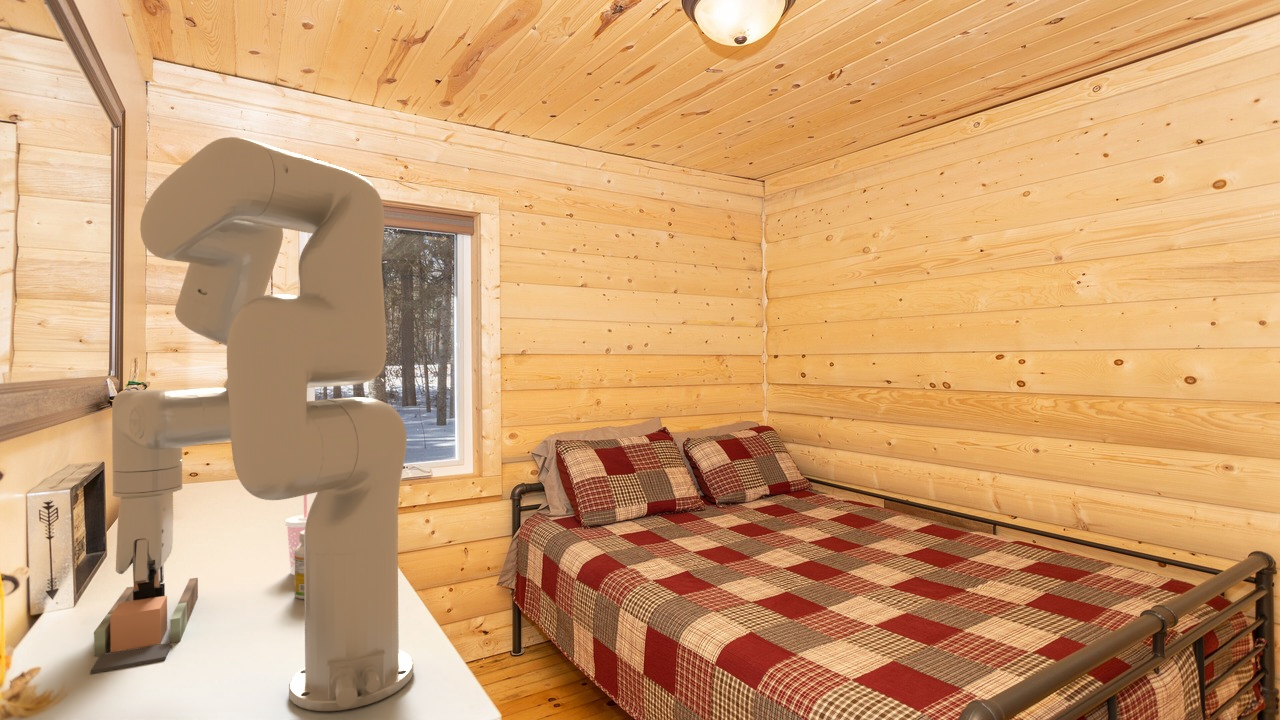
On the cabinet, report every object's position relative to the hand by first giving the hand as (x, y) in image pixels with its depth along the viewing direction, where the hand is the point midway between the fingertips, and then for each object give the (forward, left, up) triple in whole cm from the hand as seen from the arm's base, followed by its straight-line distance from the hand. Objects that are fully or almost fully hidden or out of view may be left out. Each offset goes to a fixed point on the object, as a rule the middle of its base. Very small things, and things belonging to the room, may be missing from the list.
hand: (149, 616), depth 88 cm
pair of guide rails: (+1, 0, -1) cm, 2 cm away
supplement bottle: (+3, -20, -2) cm, 20 cm away
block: (-5, 0, -1) cm, 5 cm away
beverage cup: (+16, -19, -2) cm, 25 cm away
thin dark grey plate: (-11, 0, -1) cm, 11 cm away
